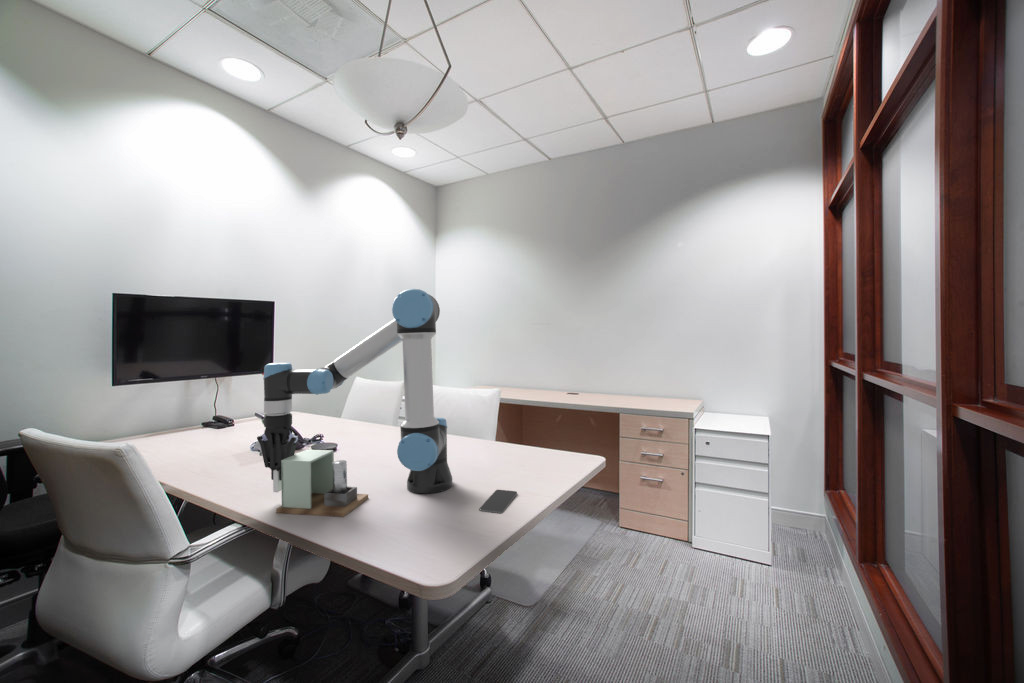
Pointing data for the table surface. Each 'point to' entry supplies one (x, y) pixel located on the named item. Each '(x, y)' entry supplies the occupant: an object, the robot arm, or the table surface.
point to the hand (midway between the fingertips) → (278, 490)
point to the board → (329, 503)
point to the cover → (306, 477)
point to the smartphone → (498, 501)
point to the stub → (339, 476)
